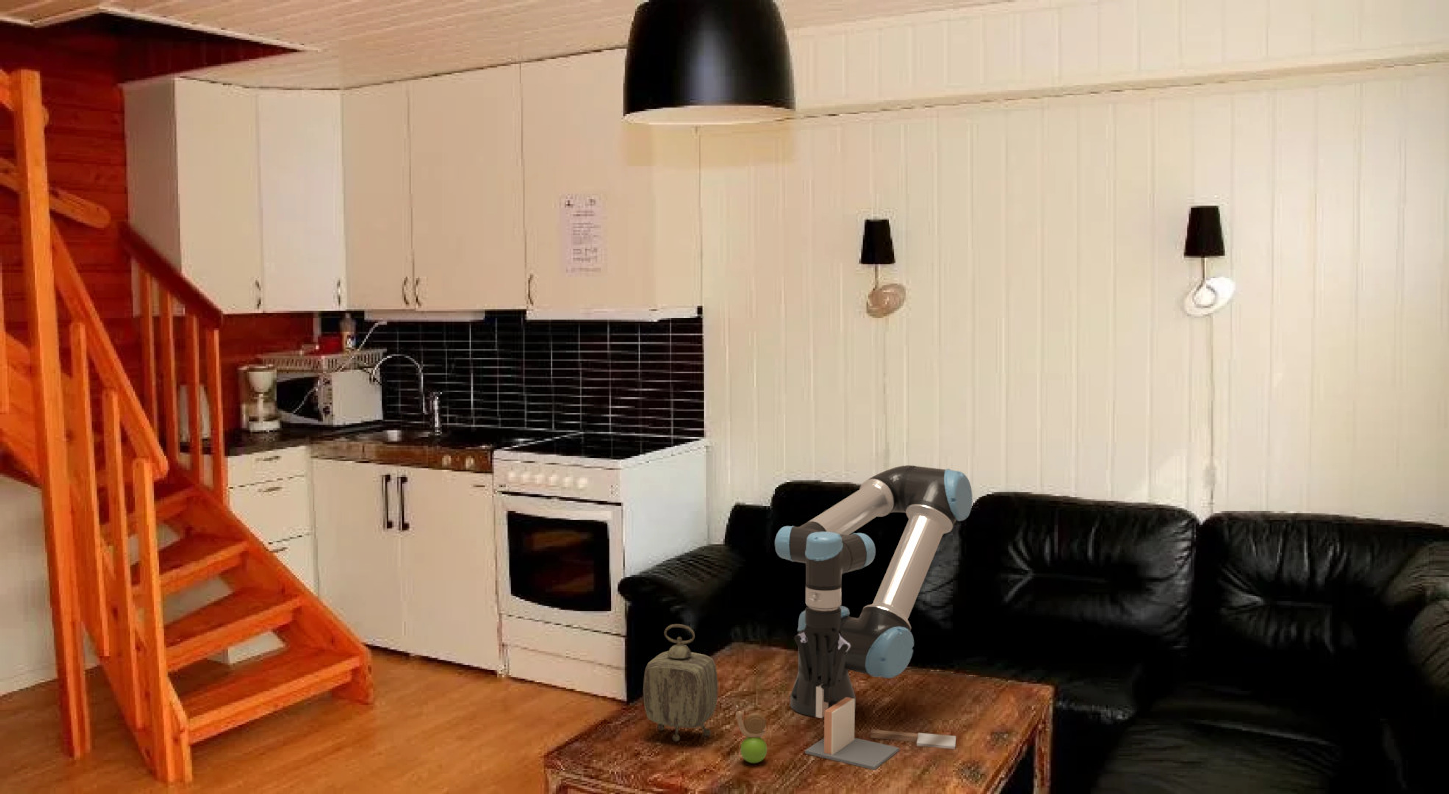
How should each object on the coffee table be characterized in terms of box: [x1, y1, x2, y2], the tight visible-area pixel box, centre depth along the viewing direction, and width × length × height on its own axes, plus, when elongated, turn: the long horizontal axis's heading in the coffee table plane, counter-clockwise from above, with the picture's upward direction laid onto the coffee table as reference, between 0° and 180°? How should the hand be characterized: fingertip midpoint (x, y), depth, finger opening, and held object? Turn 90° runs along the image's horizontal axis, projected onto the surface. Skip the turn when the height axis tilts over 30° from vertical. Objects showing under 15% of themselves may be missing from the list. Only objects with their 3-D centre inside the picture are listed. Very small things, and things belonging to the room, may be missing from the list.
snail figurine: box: [735, 704, 768, 764], centre depth 246 cm, size 5×6×12 cm
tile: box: [823, 697, 856, 755], centre depth 253 cm, size 2×10×9 cm, turn 148°
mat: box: [804, 737, 900, 771], centre depth 252 cm, size 16×12×1 cm
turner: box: [869, 729, 957, 750], centre depth 259 cm, size 18×6×1 cm, turn 77°
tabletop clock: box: [642, 623, 719, 743], centre depth 259 cm, size 14×9×25 cm, turn 71°
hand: (822, 715), depth 255 cm, fingers closed
